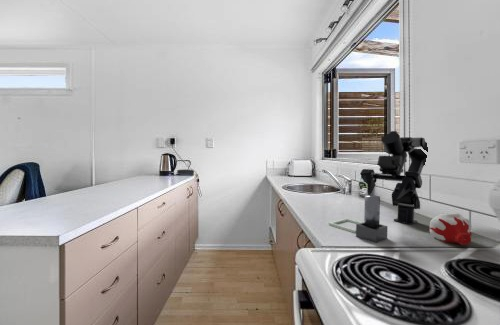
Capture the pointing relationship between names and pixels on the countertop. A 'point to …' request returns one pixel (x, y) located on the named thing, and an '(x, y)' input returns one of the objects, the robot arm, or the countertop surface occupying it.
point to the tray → (343, 226)
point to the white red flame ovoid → (451, 228)
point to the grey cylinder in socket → (371, 221)
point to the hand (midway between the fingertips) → (382, 196)
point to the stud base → (371, 241)
